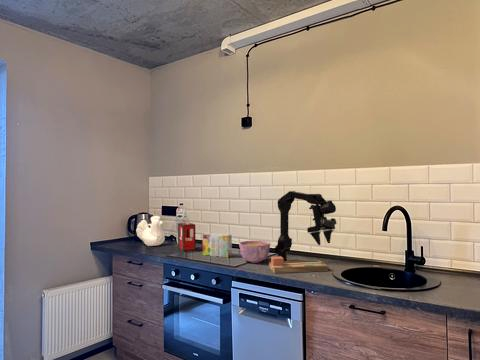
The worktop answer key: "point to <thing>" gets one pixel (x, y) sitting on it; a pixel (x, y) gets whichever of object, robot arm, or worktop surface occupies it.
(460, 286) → the worktop surface
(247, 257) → the bowl of food
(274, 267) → the box
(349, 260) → the worktop surface
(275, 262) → the block
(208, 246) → the snack box
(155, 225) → the decorative rooster
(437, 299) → the worktop surface
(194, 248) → the cleaning product box
